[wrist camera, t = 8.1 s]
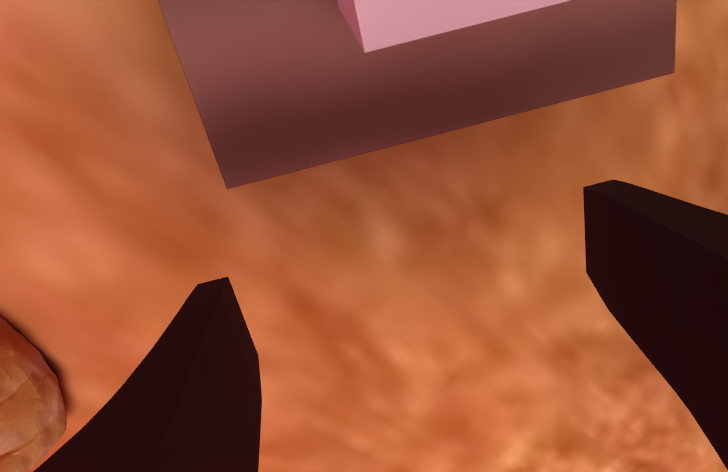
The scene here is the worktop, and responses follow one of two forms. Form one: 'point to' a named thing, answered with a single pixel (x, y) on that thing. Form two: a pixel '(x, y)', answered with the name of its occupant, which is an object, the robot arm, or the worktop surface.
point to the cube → (423, 17)
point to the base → (393, 74)
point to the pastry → (26, 403)
